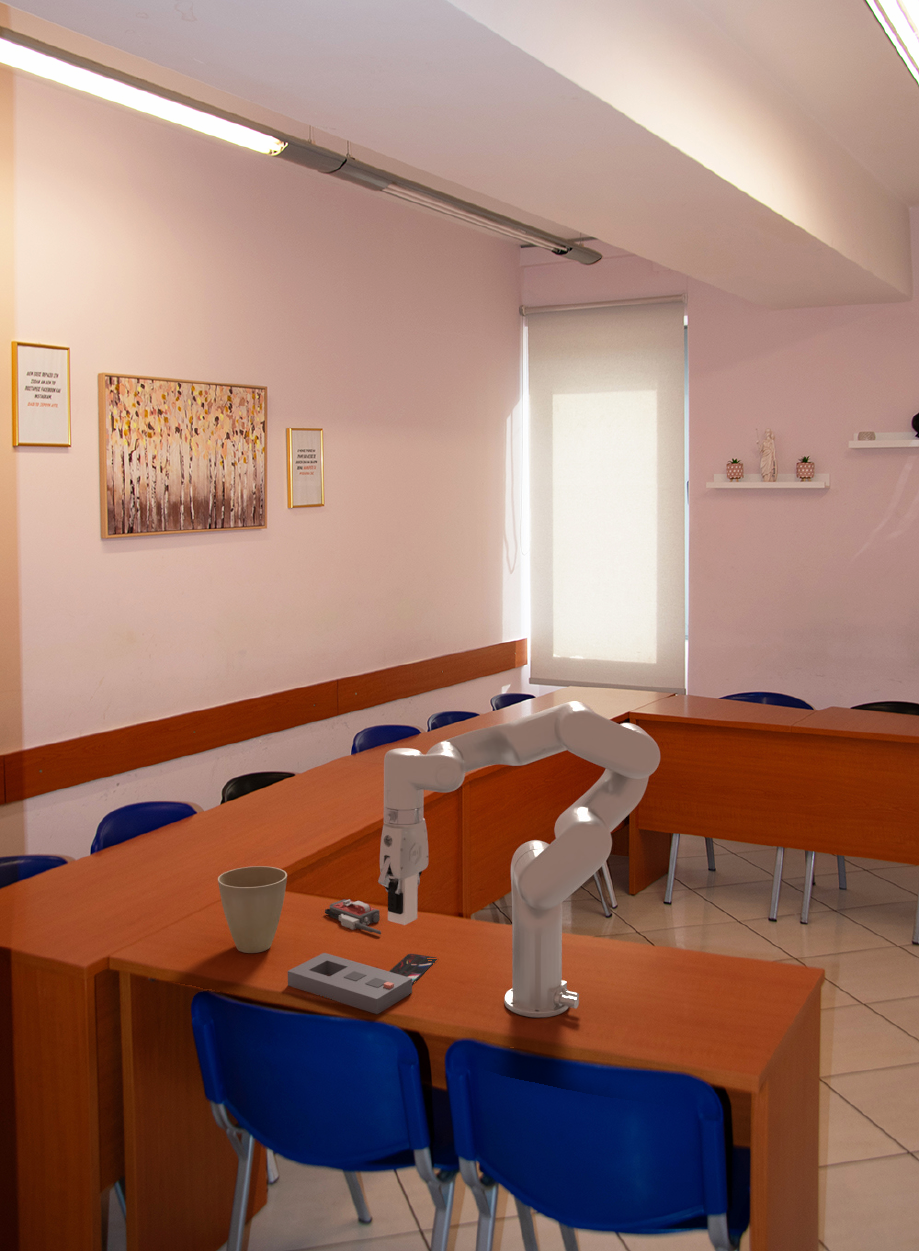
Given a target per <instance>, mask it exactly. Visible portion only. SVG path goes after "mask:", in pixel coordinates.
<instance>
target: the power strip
mask: <svg viewBox="0 0 919 1251" xmlns="http://www.w3.org/2000/svg"><path fill="white" fill-rule="evenodd" d="M389 971H390V970H385V969H381V968H378V967H375V966H371V965H367V964H365V963H361V962H357V961H354V960H350V959H347V958H344V957H340V956H337V955H334V954H330V953H327V952H323V953H320V954H319V955H316V956H315V957H313V958H310V959H309V960H307V961H305V962H303V963H300V964H299V965H296V966H295V967H293V968H291V969H289V970H287V986H289V987H292V988H294V989H298V990H301V991H303V992H308V993H310V992H311V993H310V994H313V993H314V994H313V995H317V996H319V995H320V997H322V996H324V997H323V998H326V997H327V998H326V999H328V998H330V999H329V1000H331V999H332V1000H331V1001H334V1000H335V1001H334V1002H338V1003H341V1004H344V1005H347V1006H351V1007H353V1008H357V1009H360V1010H362V1011H365V1012H369V1013H372V1014H375V1015H379V1014H380V1013H382V1012H383V1011H386V1010H387V1009H389V1008H390V1007H392V1006H394V1005H395V1004H396V1003H398V1002H400V1001H401V1000H404V999H405V998H406V997H408V996H409V994H410V993H411V994H412V993H413V985H412V978H409V977H406V976H402V975H399V974H395V973H392V972H389ZM411 994H410V995H411Z"/></svg>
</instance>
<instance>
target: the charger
mask: <svg viewBox="0 0 919 1251" xmlns="http://www.w3.org/2000/svg"><path fill="white" fill-rule="evenodd" d="M393 882H394V883H395V885H396V880H394V879H393ZM418 888H419V885H418V873H417V874H414V875H412V876H410V877H408V878H406V879H403V880H402V887H401V893H403V913H402V914H396V913H393V912H389V911H388V910H387V921H388V922H392V923H396V924H399V925H403V926H406V925H408V924H410V923H411V922H413V921H416V920H417V919H418V905H417V893H418V892H419V889H418Z"/></svg>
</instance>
